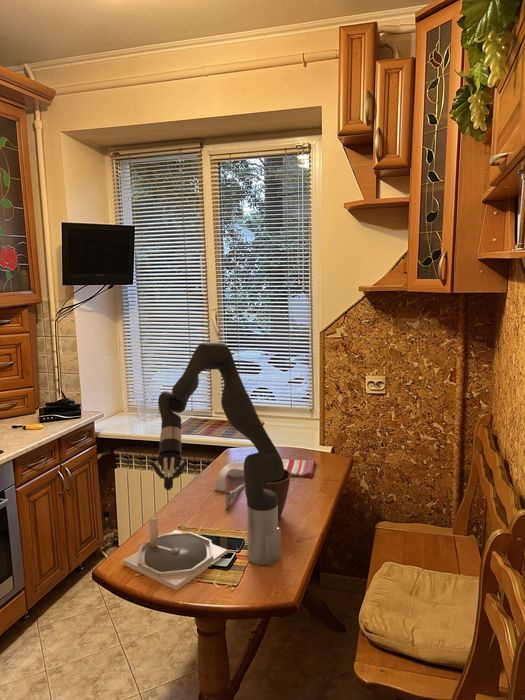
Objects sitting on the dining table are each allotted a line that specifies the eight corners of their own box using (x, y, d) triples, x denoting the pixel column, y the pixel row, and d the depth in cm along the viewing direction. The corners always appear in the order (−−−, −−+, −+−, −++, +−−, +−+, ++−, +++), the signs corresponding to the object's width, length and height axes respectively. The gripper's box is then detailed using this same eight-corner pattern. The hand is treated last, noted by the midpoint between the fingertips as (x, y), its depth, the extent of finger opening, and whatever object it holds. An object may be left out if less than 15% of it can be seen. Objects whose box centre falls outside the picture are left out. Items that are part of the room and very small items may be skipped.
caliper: (228, 509, 189) (228, 493, 188) (225, 509, 190) (225, 493, 189) (244, 486, 209) (244, 472, 208) (242, 486, 209) (241, 471, 208)
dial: (218, 546, 161) (217, 516, 159) (184, 578, 144) (183, 545, 143) (168, 533, 169) (167, 505, 167) (131, 563, 152) (129, 531, 151)
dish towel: (312, 479, 216) (312, 473, 216) (257, 475, 220) (257, 469, 220) (315, 464, 233) (315, 458, 232) (264, 461, 237) (264, 455, 236)
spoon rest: (232, 468, 228) (232, 452, 227) (257, 472, 224) (256, 456, 223) (207, 489, 206) (206, 472, 205) (233, 494, 202) (233, 476, 201)
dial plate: (227, 554, 159) (227, 545, 159) (176, 590, 142) (175, 580, 141) (176, 533, 172) (175, 525, 172) (123, 564, 154) (123, 555, 154)
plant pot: (254, 530, 174) (253, 485, 171) (243, 510, 188) (243, 468, 185) (296, 524, 178) (296, 480, 175) (283, 505, 192) (282, 464, 189)
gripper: (150, 438, 180) (146, 486, 170) (188, 436, 181) (187, 484, 171) (153, 447, 186) (149, 494, 176) (190, 446, 187) (188, 492, 177)
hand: (168, 489), depth 173 cm, fingers closed
